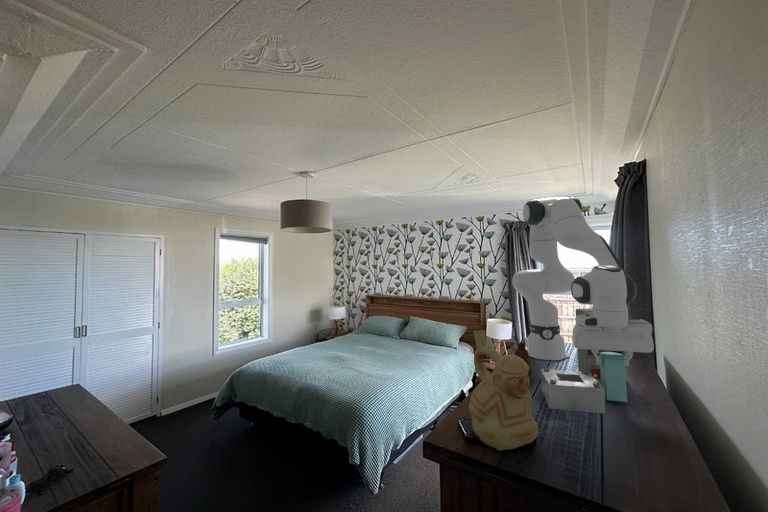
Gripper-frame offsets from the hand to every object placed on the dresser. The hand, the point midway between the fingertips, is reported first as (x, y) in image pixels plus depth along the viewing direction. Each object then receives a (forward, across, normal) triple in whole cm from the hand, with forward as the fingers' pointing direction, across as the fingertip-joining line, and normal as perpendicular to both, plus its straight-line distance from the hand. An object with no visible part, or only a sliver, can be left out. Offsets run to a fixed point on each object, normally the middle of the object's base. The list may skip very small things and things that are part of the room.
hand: (612, 365), depth 95 cm
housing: (+11, +12, +2) cm, 16 cm away
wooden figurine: (+11, +24, -13) cm, 29 cm away
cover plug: (+10, 0, 0) cm, 10 cm away
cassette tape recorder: (+11, -3, -20) cm, 23 cm away
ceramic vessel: (+11, +33, +28) cm, 45 cm away
